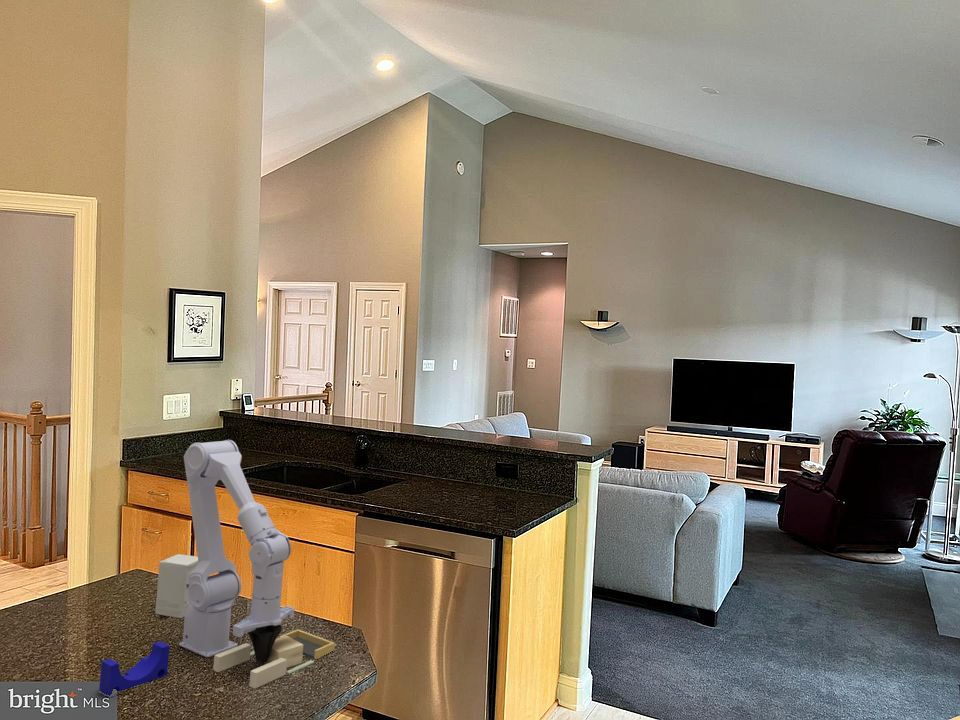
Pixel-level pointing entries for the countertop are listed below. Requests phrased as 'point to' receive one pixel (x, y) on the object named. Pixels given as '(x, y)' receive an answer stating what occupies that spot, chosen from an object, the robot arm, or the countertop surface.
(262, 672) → the cream parallel guide rails
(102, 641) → the countertop surface
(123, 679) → the blue arch block
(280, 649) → the beech block
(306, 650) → the open-sided tray
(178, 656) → the countertop surface
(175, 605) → the supplement box
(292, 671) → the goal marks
